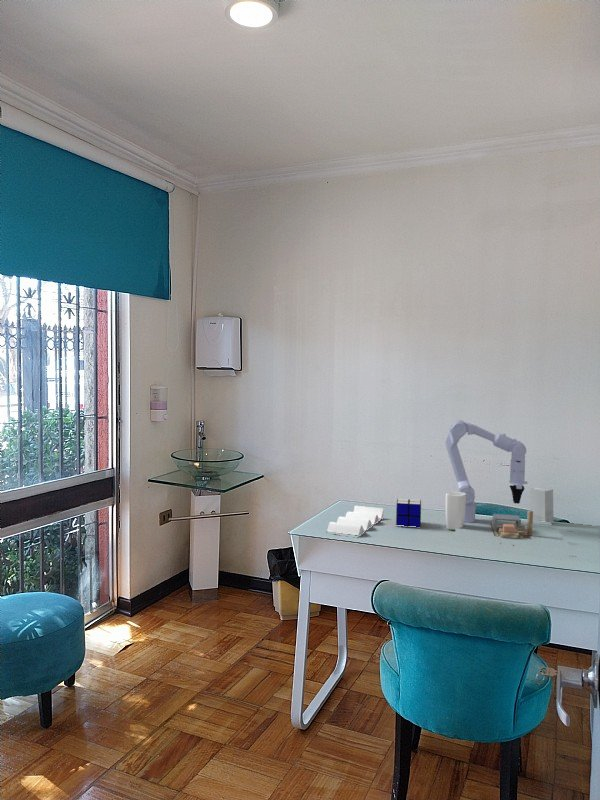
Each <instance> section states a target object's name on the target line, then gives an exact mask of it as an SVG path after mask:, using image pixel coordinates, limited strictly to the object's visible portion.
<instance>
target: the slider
mask: <svg viewBox="0 0 600 800" xmlns="http://www.w3.org/2000/svg"><path fill="white" fill-rule="evenodd" d="M533 523H534V521H533V511H530V510H527V517H526V530H527V532H524V531H517V530H515V533H503V529H499V533H501V537H500V538H509V539H510V538H513V539H520V538H519V534H522V535H529V536H533Z"/></svg>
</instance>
